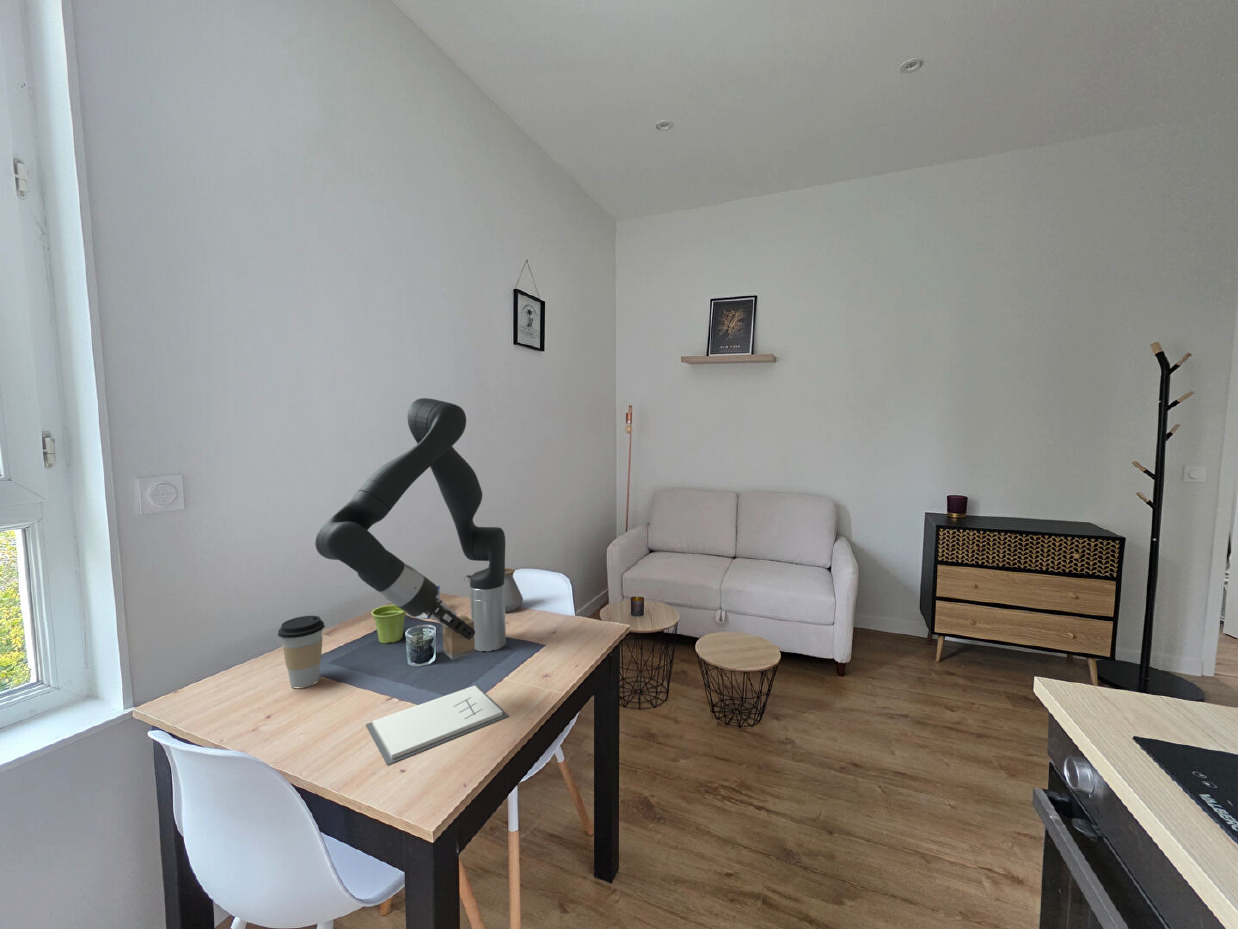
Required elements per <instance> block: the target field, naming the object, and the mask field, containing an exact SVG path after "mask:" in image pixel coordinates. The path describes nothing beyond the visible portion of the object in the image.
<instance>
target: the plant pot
mask: <svg viewBox="0 0 1238 929" xmlns="http://www.w3.org/2000/svg"><path fill="white" fill-rule="evenodd" d="M406 615H407V613H406V612H405V611H403V610H402V609H400V608H399V607H397V606H396V605H394V604H390V605H383V606H380V607H377V608H374V609H373V610H372V611H371V616H372V617H373V620H374V621H375V626H376V627H375V628H376V632H377V636H378V642H379V643H381V644H388V643H396V642H398V641H400V640H402V638H403V633H404V625H405V624H404V623H405V618H406Z"/></svg>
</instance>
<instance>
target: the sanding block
mask: <svg viewBox="0 0 1238 929" xmlns="http://www.w3.org/2000/svg"><path fill="white" fill-rule="evenodd" d="M457 617H458V618H459V619H461V620H463V621H465V623H466V624H467V625H468V626H469V627H471V628H472V629H473V630H474V621H472V620H471V617H468V616H466V615H465V614H464V615H461V616H457ZM457 623H458V622H457ZM457 623H456V624H457ZM456 624H455V625H456ZM442 642H443V648H442V649H443V653H444V654H445V655H446V656H447V657H448V658H449V659H450V660H452V661H453V660H457V659H460V658H465V657H466V656H470V655H474V654H475V653H476V650H475V639H474V635H473V637H472V638H471V639H470V640H468V639H467V638H465V637H464V636H462V635H461V634H460V633H455V632H454V631H453V630H452V629H451V628H450V627H444V626H443V625H442Z"/></svg>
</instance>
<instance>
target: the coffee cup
mask: <svg viewBox="0 0 1238 929" xmlns="http://www.w3.org/2000/svg"><path fill="white" fill-rule="evenodd" d="M324 628H325V622H324V621H323V620H322V619H321V617H320V616H317V615H303V616H297V617H294V618H291V619H288V620H286V621H284V622H283V623H281V626H280V628H279V629H278V633H277V636H278V637H279V638H281V639H282V650H283V654H284V655H283V656H284V661H285V666H286V669H287V673H288V677H289V678H288V679H289V683H290V687H291V686H292V687H306V688H308V687H307V686H309V685H312V684H314V683H315V682H317V681H318V680H319V681H320V672H321V671H320V670H321V661H322V650H323V629H324ZM319 681H318V682H319ZM318 682H317V683H318ZM314 685H315V684H314ZM312 686H313V685H312ZM292 687H291V688H292ZM309 687H310V686H309Z"/></svg>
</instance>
